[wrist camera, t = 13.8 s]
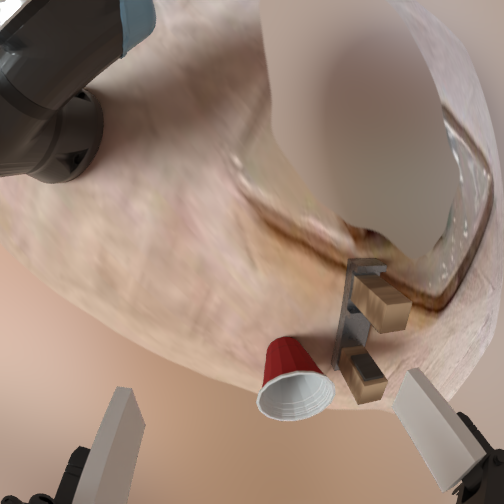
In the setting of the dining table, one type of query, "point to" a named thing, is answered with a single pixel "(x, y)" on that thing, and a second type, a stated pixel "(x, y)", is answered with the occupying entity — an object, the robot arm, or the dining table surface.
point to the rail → (354, 308)
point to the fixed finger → (362, 374)
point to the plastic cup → (292, 383)
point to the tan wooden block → (380, 303)
